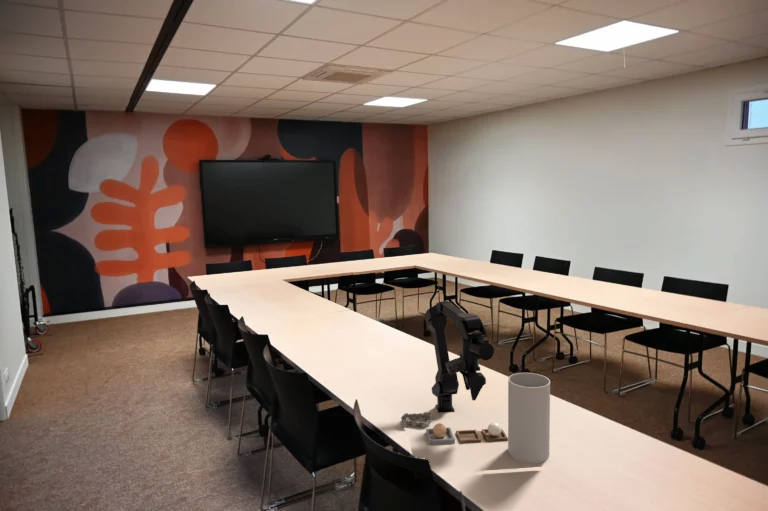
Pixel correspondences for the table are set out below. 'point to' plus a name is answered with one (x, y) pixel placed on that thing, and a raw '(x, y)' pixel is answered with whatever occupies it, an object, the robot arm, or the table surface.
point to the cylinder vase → (528, 417)
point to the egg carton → (415, 416)
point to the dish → (440, 441)
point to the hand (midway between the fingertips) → (470, 394)
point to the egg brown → (439, 430)
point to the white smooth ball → (494, 429)
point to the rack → (479, 436)
